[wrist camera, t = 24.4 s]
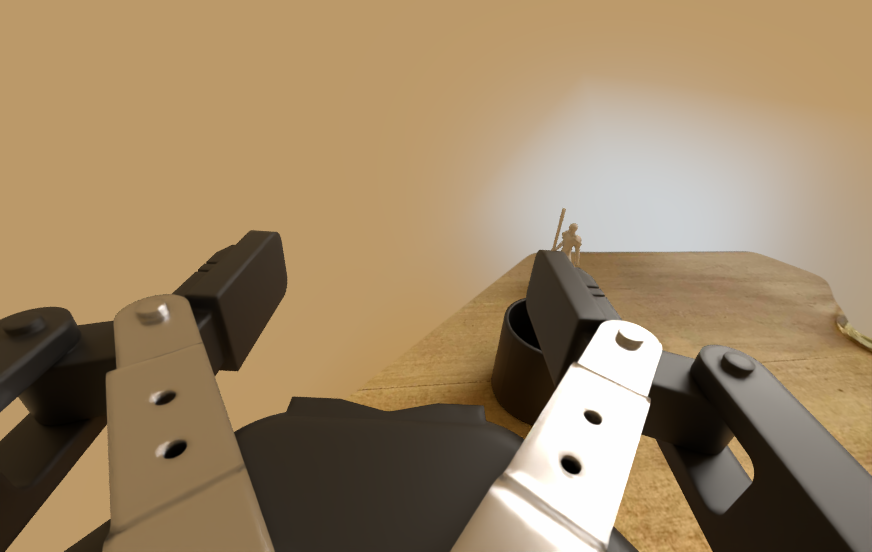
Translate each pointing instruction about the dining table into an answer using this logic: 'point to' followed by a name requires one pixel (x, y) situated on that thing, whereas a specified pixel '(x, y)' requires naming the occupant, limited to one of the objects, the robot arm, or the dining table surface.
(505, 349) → the mug
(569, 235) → the figurine
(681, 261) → the dining table surface
